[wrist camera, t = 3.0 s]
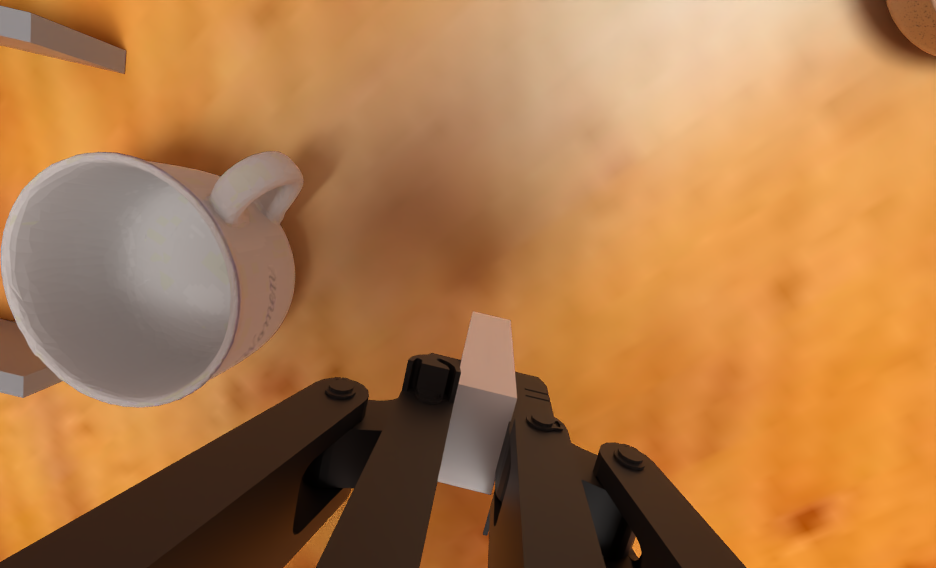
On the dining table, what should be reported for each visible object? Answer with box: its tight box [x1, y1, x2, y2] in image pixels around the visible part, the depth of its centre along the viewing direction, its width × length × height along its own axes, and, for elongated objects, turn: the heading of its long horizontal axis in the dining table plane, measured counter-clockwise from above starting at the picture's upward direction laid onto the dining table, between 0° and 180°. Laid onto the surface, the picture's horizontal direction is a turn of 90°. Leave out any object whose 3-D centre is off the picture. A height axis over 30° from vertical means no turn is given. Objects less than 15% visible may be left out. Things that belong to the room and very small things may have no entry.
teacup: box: [1, 151, 304, 407], centre depth 22 cm, size 14×11×8 cm
